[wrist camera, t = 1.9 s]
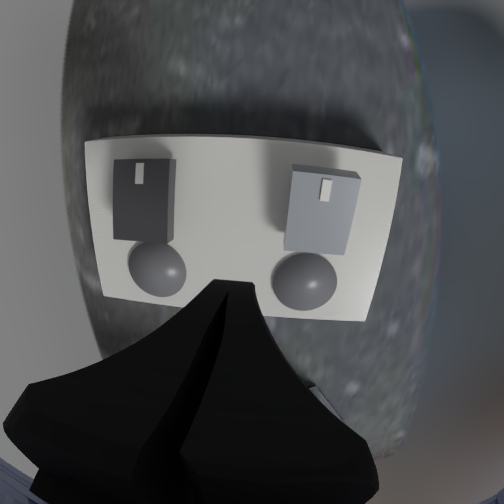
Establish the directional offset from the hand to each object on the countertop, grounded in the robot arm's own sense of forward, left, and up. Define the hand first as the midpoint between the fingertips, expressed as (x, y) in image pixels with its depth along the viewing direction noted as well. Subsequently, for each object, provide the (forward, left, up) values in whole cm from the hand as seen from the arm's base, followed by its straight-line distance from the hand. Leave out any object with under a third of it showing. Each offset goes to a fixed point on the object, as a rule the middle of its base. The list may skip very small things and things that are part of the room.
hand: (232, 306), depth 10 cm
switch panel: (0, +1, -10) cm, 10 cm away
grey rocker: (+2, -3, -5) cm, 6 cm away
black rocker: (+2, +5, -5) cm, 8 cm away
